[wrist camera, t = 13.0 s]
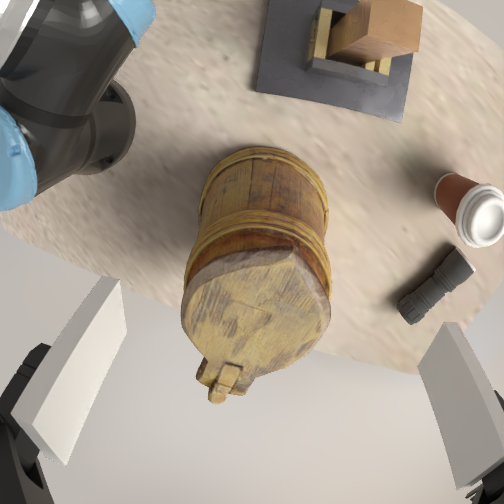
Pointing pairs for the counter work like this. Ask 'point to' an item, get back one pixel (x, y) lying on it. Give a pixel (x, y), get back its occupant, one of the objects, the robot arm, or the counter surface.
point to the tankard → (257, 269)
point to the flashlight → (436, 286)
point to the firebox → (326, 62)
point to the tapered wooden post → (375, 32)
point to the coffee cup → (471, 209)
